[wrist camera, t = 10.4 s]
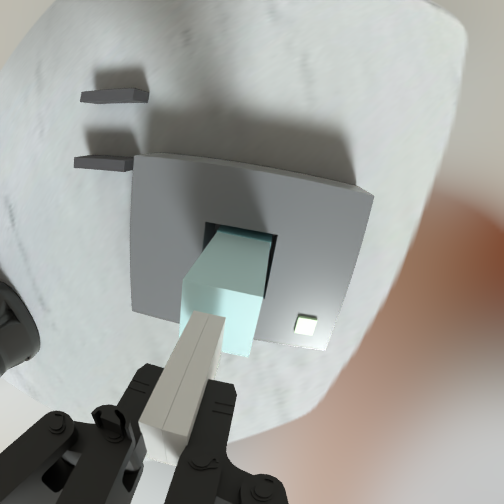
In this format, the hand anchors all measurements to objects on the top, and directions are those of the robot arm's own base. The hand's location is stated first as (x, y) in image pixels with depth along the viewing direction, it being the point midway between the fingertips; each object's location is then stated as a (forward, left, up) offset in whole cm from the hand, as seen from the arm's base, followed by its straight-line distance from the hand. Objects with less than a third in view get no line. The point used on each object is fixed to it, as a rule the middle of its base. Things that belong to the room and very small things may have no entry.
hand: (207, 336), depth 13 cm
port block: (0, 0, -14) cm, 14 cm away
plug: (0, 0, -13) cm, 13 cm away
